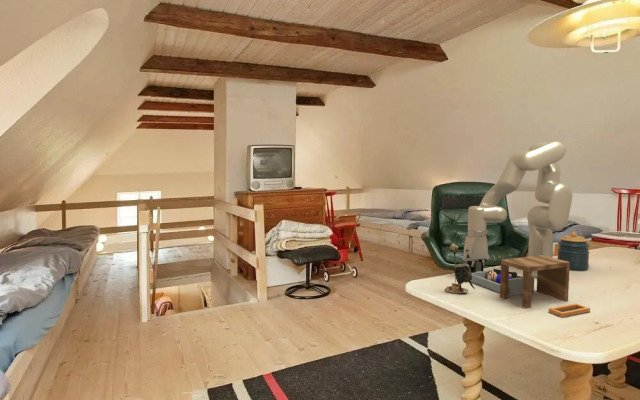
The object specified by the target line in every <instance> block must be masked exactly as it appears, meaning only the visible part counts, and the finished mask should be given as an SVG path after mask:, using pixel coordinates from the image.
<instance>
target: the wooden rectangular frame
mask: <svg viewBox="0 0 640 400" xmlns="http://www.w3.org/2000/svg"><path fill="white" fill-rule="evenodd" d="M548 313H549V314H551V315H555V316H556V317H559V318H567V317H572V316H577V315H583V314H589V313H591V308H590V307H588V306H585V305H582V304H580V303H571V304H565V305H561V306H554V307H549V308H548Z"/></svg>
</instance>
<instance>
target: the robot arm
mask: <svg viewBox="0 0 640 400" xmlns="http://www.w3.org/2000/svg"><path fill="white" fill-rule="evenodd" d="M565 155H566V147H565V145H564V144H563V143H562V142H560V141H545V142H544V141H543V142H538V143H534V144H532V145H531V146H530V147H529V148H528V150H526V151H517V152H514V153H512V154H511V156H510V157H509V159H508V161H507V162H506V164H505V166H504V169H503V170H502V173H501V175H500V177H499V178H498V180H497V182H495V184H494V185H492V187H491V188H490V189H489V190H488V191H486V193H485V195H483V198H482V199H481V202H480V203H479V205H472V206H469V207H468V209H467V210H468V211H467V236H466V237H465V240H464V247H463V257H462V261H463V262H464V263H465V264H468V265H469V267H470V270H471V273H475V267H474V261H479V262H481V271H484V269H485V268H484V267H485V265H486V262H487V260H489V259H490V255H489V246H488V238H487V234H488V231H487V223H493V224H500V223H503V222H504V221H505V220H506V219H507V218H508V217H507V216H508V211H507V210H506V209H505V208H504V207H502V206H501V205H498V204H499V202H500V201H501V200H502V199H503V198H505V196H507V195H509V194H512V193H513V192H516V191H517V190H518V188H519V187H520V184H521V182H522V181H523V179H524V176H525V174H526V173H527V171H529V172H532V171H537V170H538V173H537V180H536V187H535V191H534V198H535V200H536V201H538V202H540V203H543V204H548V206H544V205H535V206H532V207H531V208H530V209H529V210H528V212H527V216H526V219H527V224H528V255H527V257H529V256H538V255H542V256H547V257H551V258H553V253H554V251H553V249H554V235H553V234H554V232H553V231H559V230H560V231H561V230H562V229H564V228H565V227H566V225H567V224H568V221H569V217H570V213H571V212H570V211H571V206H572V202H573V192H572V189H571V187H570V186H569V185H567V184H566V183H563V182H560V177H561V168H560V167H561V166H560V165H559V161H560V160H562V159H563V158H564V157H565ZM552 230H553V231H552ZM532 276H534V278H537V271H532Z"/></svg>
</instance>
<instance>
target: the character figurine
mask: <svg viewBox="0 0 640 400" xmlns="http://www.w3.org/2000/svg"><path fill="white" fill-rule="evenodd" d="M487 271H488V272H486V273H485V279H487V280H490V281H493V282H496V283H498V284H500V278H501V269H498V268H497V269H496V268H493V270H492V271H491V270H487ZM521 277H522V276H521V275H518V272H516V271H509V279H514V278H521Z"/></svg>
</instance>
